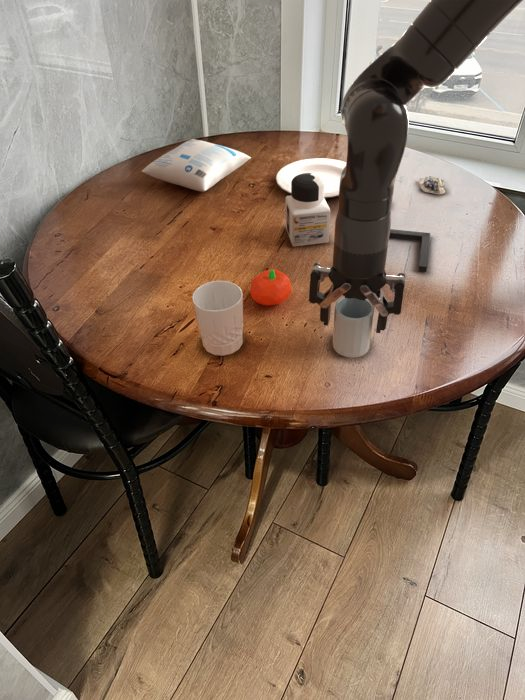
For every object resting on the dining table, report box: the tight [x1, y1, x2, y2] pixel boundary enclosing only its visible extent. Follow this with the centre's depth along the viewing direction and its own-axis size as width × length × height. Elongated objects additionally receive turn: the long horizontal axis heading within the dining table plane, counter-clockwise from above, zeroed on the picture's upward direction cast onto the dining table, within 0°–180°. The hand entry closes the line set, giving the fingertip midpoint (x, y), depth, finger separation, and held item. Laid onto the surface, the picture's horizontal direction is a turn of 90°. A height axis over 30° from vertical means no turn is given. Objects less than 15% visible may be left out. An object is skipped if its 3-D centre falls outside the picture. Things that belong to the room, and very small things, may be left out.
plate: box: [275, 157, 346, 199], centre depth 131 cm, size 21×21×2 cm
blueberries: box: [418, 175, 446, 196], centre depth 127 cm, size 7×8×2 cm
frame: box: [389, 228, 431, 273], centre depth 109 cm, size 14×12×1 cm
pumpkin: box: [249, 268, 292, 306], centre depth 97 cm, size 7×8×6 cm
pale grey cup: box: [332, 296, 376, 359], centre depth 87 cm, size 6×6×8 cm
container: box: [285, 173, 331, 248], centre depth 110 cm, size 8×8×13 cm
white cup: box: [191, 280, 244, 357], centre depth 88 cm, size 8×8×10 cm
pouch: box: [141, 138, 252, 193], centre depth 133 cm, size 8×19×20 cm
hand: (352, 326), depth 86 cm, fingers open, 8 cm apart
